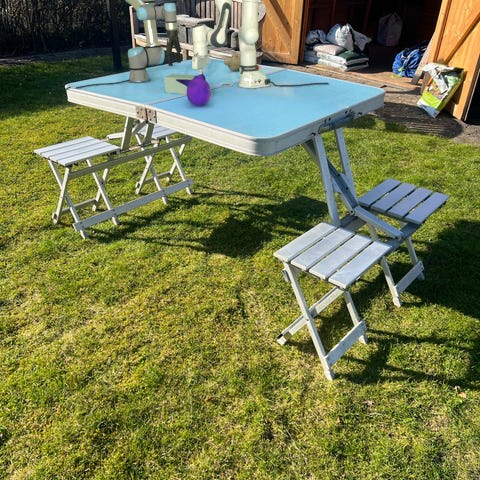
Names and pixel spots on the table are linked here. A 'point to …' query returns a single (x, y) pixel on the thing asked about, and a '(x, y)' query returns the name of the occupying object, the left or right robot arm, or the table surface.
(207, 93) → the toy
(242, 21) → the right robot arm
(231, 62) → the teapot
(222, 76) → the table surface
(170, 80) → the cabinet
